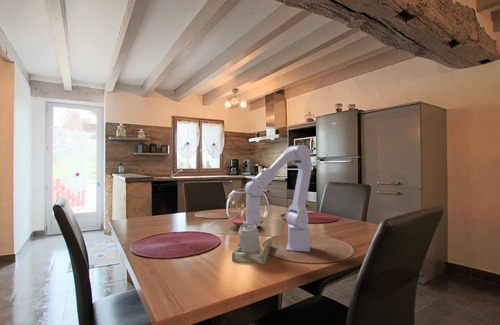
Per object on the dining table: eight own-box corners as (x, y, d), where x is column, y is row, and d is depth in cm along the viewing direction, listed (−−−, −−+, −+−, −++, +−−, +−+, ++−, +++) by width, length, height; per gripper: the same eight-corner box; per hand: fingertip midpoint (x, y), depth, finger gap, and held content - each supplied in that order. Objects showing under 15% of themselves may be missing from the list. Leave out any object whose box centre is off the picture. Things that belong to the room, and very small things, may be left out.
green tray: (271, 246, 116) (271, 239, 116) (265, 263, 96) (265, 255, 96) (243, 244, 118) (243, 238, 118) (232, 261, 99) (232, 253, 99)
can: (262, 248, 106) (259, 221, 103) (258, 260, 99) (255, 232, 96) (244, 248, 107) (240, 221, 104) (239, 259, 100) (235, 231, 97)
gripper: (247, 208, 115) (247, 239, 115) (239, 214, 100) (239, 250, 100) (263, 208, 113) (263, 240, 113) (257, 215, 99) (257, 251, 99)
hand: (253, 245), depth 107 cm, fingers closed
